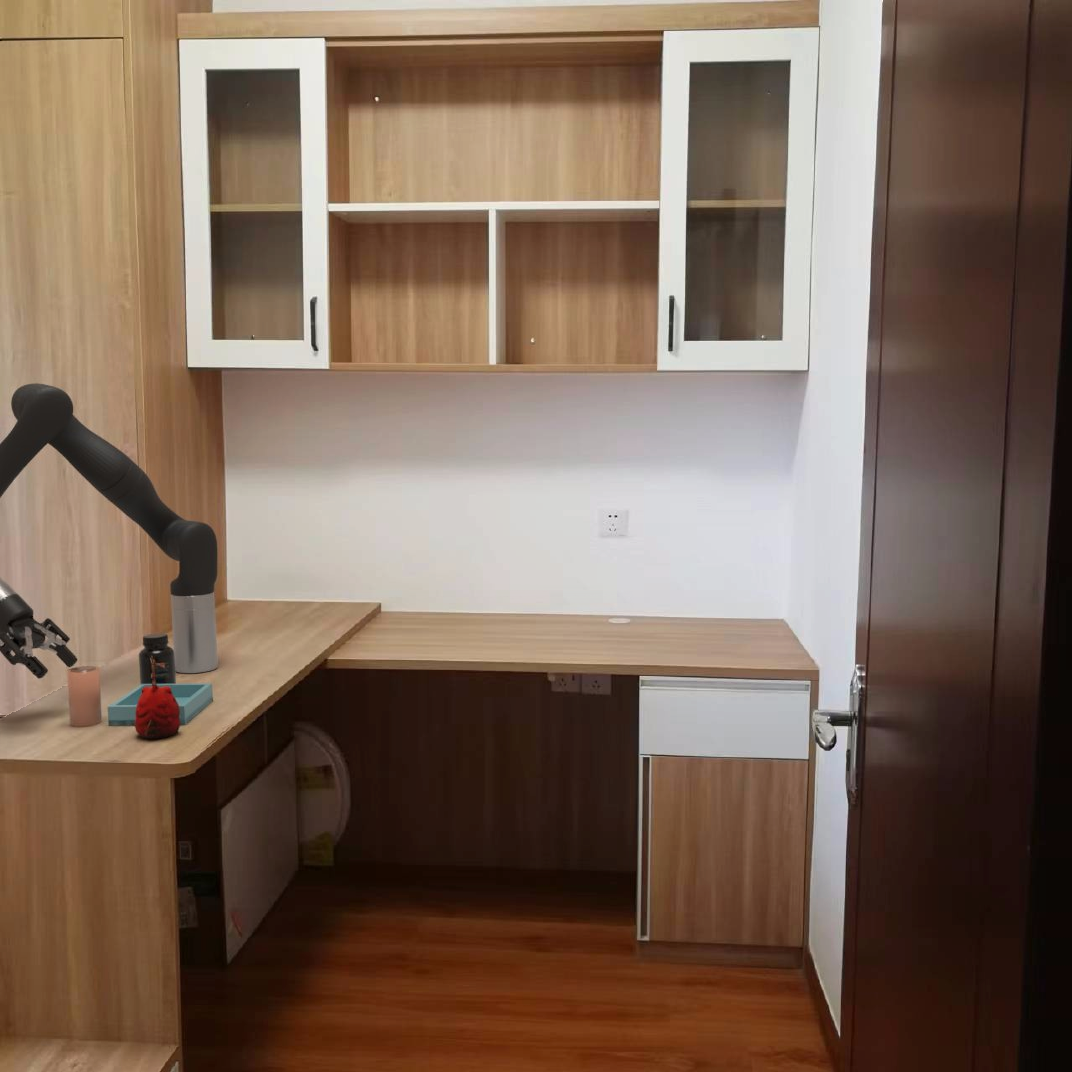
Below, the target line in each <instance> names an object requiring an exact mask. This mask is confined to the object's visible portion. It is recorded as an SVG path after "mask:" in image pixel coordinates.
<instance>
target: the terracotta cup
mask: <svg viewBox="0 0 1072 1072" xmlns="http://www.w3.org/2000/svg"><path fill="white" fill-rule="evenodd" d="M66 672H67V689H68V690H67V693H68V710H69V724H70V726H71V727H76V728H84V727H92V726H96V725H98V724H101V723H102V722H103V715H102V713H103V712H102V711H103V710H102V696H101V695H102V694H101V674H100V673H101V671H100V667H99V666H96V665H84V666H76V667H70V668H69V669H67V671H66Z"/></svg>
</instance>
